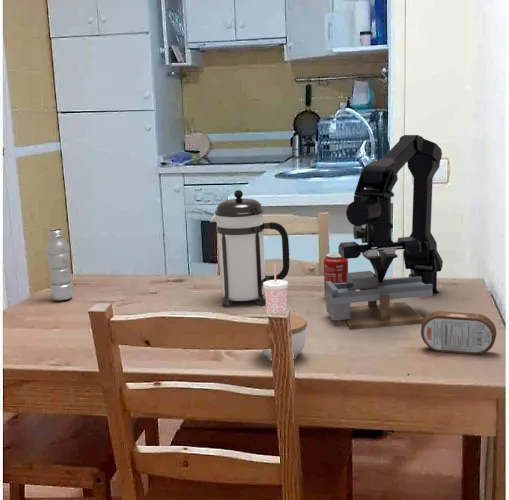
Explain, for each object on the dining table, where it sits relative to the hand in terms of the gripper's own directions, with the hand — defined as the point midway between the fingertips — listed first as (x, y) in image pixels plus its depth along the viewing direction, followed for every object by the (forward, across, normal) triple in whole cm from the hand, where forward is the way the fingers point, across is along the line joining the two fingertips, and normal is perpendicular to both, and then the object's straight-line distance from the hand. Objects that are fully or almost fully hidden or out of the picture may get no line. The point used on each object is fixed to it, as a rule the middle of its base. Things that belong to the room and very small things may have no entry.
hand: (380, 282), depth 169 cm
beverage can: (+9, +6, -18) cm, 21 cm away
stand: (+9, +1, 0) cm, 9 cm away
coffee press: (+8, +29, -23) cm, 38 cm away
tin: (+9, -8, +26) cm, 29 cm away
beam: (+7, +1, 0) cm, 7 cm away
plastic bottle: (+8, +80, -39) cm, 89 cm away
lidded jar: (+9, +28, +20) cm, 35 cm away
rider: (+2, +4, 0) cm, 5 cm away
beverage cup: (+9, +24, -6) cm, 27 cm away
